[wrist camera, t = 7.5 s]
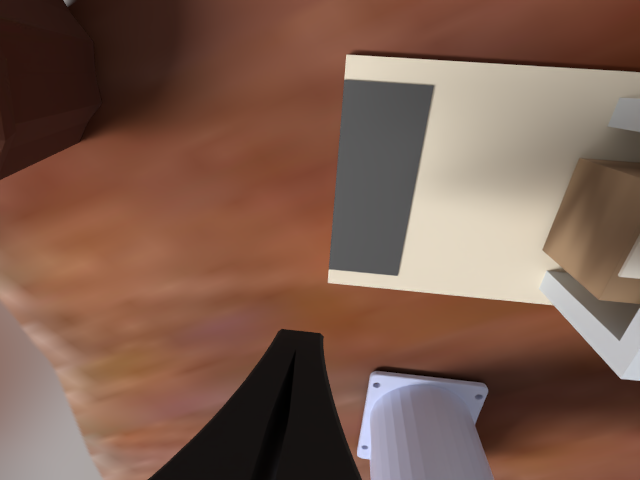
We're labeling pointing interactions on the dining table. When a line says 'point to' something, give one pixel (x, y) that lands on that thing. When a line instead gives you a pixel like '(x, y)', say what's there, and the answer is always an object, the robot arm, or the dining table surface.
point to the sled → (600, 229)
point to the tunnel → (477, 182)
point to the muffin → (43, 82)
